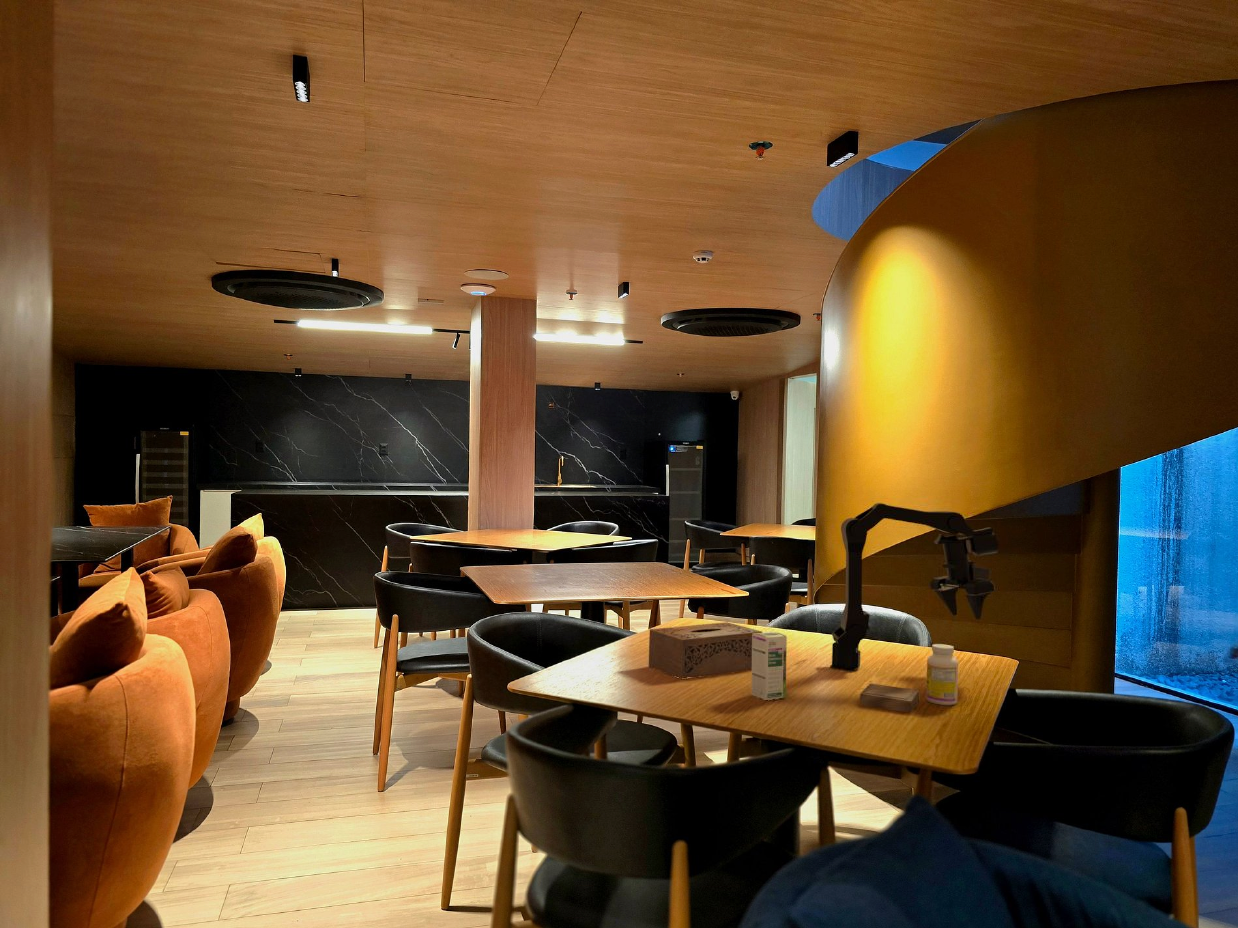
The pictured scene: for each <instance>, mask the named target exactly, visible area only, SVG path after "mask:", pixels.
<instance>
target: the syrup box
mask: <svg viewBox="0 0 1238 928" xmlns="http://www.w3.org/2000/svg"><path fill="white" fill-rule="evenodd" d="M787 643H788V638H787V635H785V634H784V633H780V632H777V631H767V632H766V631H765V632H762V633H753V634H752V670H751V687H750V688H751V691H750V692H751V695H752V696H753V697H755V696H756V697H755V698H757V697H758V698H757V699H759V698H762V699H764V700H763V701H765V700H768V701H774V700H773V699H775V700H780V699H779V698H785V699H786V697H787V696H786V695H787V693H786V692H787V652H788V651H787V645H788V644H787ZM762 699H761V700H762Z"/></svg>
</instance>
